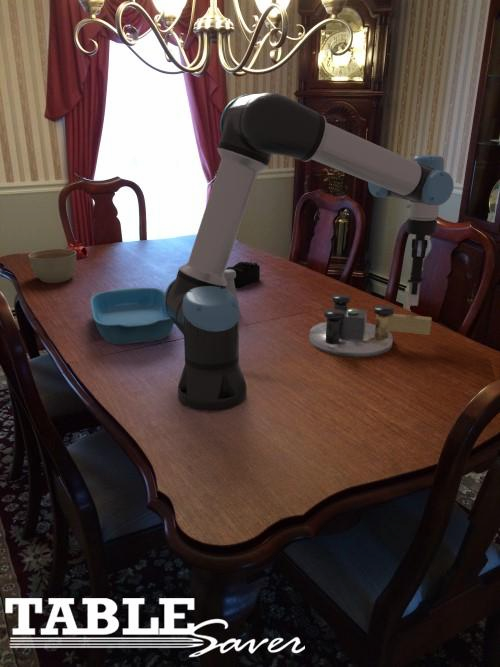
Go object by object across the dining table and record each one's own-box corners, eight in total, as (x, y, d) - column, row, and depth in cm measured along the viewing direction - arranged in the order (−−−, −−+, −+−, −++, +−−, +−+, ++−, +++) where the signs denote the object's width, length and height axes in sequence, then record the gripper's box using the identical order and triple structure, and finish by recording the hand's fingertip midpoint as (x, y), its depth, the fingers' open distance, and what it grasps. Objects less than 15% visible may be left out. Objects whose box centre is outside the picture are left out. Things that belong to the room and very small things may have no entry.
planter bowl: (71, 275, 210) (68, 246, 206) (85, 285, 198) (82, 255, 194) (27, 281, 202) (23, 251, 198) (38, 292, 189) (34, 260, 185)
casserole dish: (90, 310, 172) (88, 288, 170) (161, 304, 179) (160, 282, 176) (97, 355, 140) (94, 329, 137) (184, 345, 146) (183, 320, 143)
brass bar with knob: (370, 338, 145) (373, 310, 143) (372, 331, 150) (374, 304, 147) (428, 344, 142) (432, 316, 139) (428, 337, 146) (432, 309, 144)
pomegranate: (60, 262, 229) (57, 239, 226) (83, 258, 235) (81, 237, 231) (68, 266, 222) (66, 243, 218) (92, 263, 228) (90, 240, 224)
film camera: (242, 278, 208) (242, 255, 205) (263, 283, 203) (263, 259, 199) (215, 287, 197) (214, 262, 194) (236, 292, 192) (235, 267, 188)
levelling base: (390, 361, 137) (394, 323, 134) (302, 351, 143) (304, 314, 139) (393, 331, 157) (397, 297, 153) (316, 323, 163) (318, 290, 159)
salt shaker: (235, 314, 169) (235, 273, 165) (217, 313, 170) (217, 272, 166) (240, 308, 175) (240, 268, 170) (222, 307, 176) (222, 267, 171)
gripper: (407, 213, 150) (399, 296, 159) (406, 221, 139) (397, 310, 147) (436, 214, 148) (426, 298, 157) (438, 222, 137) (427, 313, 145)
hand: (412, 304), depth 152 cm, fingers closed
